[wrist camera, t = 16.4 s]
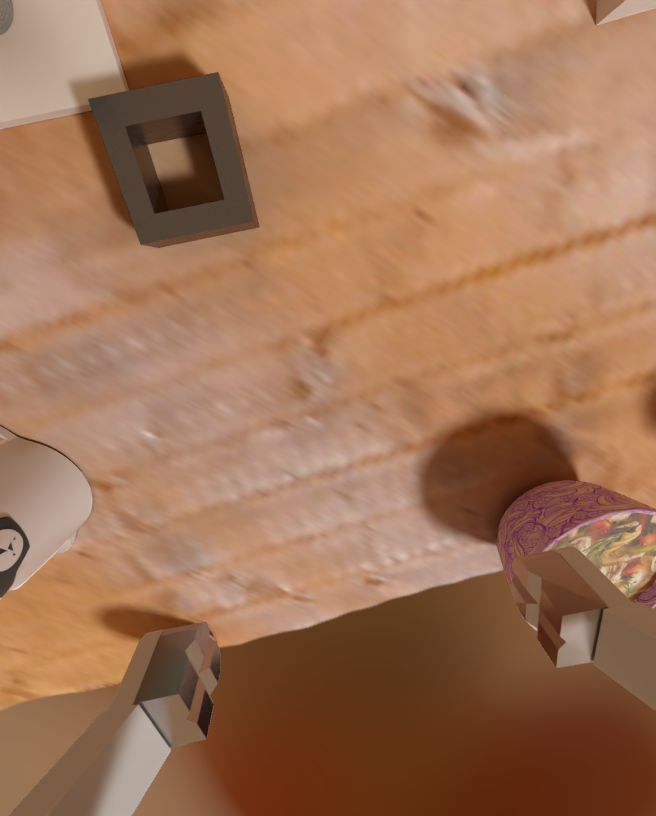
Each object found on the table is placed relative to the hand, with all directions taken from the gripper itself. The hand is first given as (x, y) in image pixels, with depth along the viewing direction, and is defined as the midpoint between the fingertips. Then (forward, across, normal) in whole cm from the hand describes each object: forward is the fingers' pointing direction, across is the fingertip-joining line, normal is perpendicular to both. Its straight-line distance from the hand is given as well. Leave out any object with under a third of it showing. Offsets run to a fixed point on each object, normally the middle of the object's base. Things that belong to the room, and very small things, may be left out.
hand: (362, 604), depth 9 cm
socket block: (+31, +8, -18) cm, 37 cm away
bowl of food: (+31, -27, +30) cm, 51 cm away
